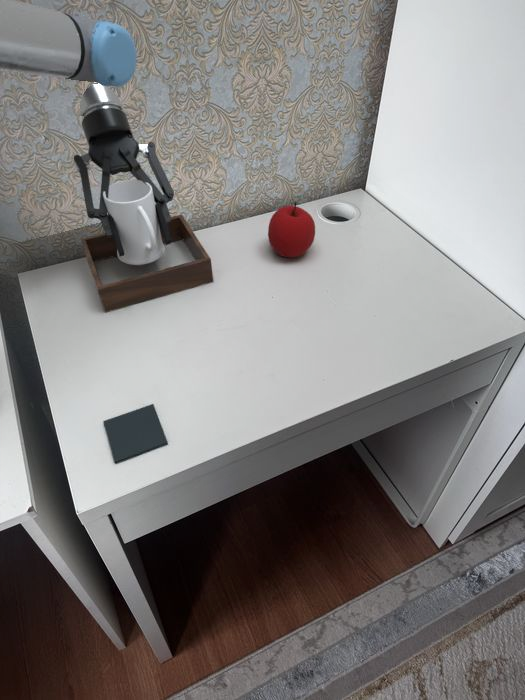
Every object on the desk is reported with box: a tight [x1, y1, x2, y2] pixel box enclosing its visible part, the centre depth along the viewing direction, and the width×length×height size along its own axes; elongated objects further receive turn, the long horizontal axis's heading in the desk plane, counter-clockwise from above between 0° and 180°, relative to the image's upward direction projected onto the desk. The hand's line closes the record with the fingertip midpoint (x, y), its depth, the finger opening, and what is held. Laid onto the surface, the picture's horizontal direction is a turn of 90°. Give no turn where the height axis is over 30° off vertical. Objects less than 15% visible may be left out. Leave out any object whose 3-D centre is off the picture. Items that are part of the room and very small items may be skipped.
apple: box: [267, 201, 316, 258], centre depth 90 cm, size 9×9×10 cm
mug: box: [103, 179, 166, 266], centre depth 83 cm, size 12×8×12 cm
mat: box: [102, 403, 169, 465], centre depth 64 cm, size 7×7×1 cm
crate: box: [79, 214, 214, 313], centre depth 88 cm, size 16×20×5 cm
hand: (145, 248), depth 82 cm, fingers closed on mug, 7 cm apart
